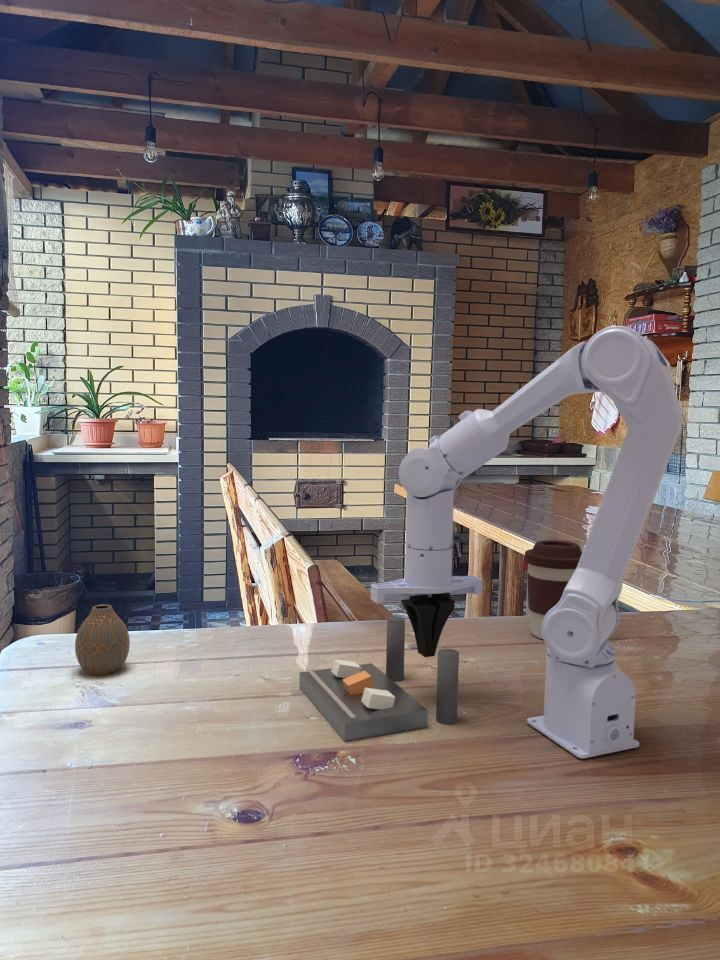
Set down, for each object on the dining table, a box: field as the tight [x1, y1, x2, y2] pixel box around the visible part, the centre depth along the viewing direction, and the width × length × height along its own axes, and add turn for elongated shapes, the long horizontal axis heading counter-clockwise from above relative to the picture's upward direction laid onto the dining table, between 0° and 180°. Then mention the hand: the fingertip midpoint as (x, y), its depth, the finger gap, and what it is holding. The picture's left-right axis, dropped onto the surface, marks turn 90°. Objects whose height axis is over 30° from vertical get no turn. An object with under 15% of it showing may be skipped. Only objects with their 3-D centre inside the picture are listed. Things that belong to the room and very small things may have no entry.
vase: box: [74, 604, 131, 676], centre depth 95 cm, size 7×7×9 cm
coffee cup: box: [524, 539, 583, 640], centre depth 113 cm, size 10×10×15 cm
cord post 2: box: [435, 648, 460, 725], centre depth 81 cm, size 2×2×8 cm
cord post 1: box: [385, 616, 406, 682], centre depth 94 cm, size 2×2×8 cm
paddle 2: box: [361, 688, 395, 709], centre depth 80 cm, size 2×3×2 cm, turn 112°
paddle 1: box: [331, 658, 361, 678], centre depth 89 cm, size 2×3×2 cm, turn 112°
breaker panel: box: [299, 662, 429, 742], centre depth 85 cm, size 16×10×2 cm, turn 22°
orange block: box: [342, 671, 374, 695], centre depth 84 cm, size 2×3×2 cm, turn 112°
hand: (426, 654), depth 88 cm, fingers closed
